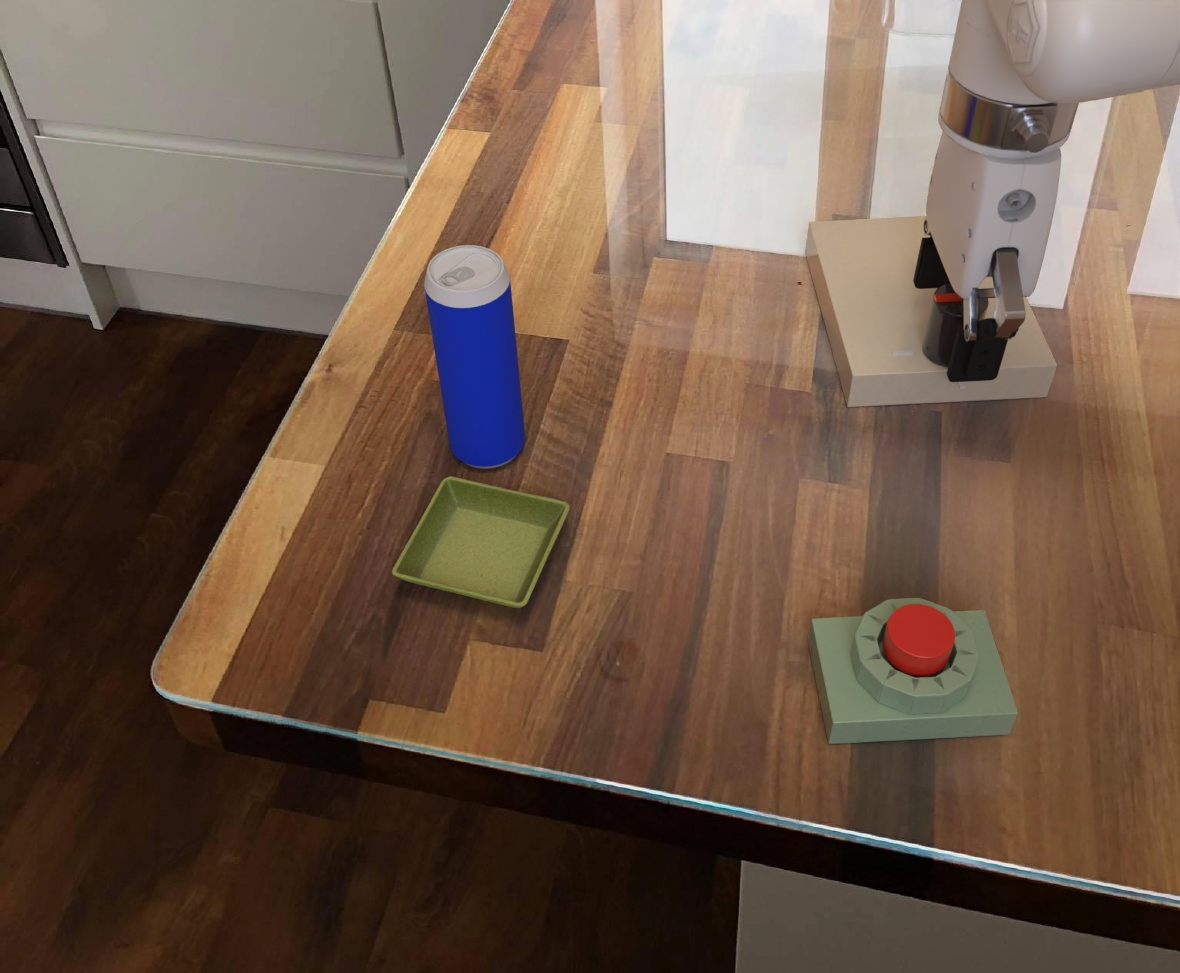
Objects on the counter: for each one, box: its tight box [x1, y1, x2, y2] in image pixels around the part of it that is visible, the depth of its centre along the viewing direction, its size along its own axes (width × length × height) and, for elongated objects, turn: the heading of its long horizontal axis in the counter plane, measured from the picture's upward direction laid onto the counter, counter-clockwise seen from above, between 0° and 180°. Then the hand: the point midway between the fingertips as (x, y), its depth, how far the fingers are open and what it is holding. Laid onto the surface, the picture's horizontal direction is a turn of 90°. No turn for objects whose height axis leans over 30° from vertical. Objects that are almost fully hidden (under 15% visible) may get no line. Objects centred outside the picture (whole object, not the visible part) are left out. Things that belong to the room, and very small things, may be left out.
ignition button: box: [883, 604, 955, 676], centre depth 66 cm, size 4×4×2 cm
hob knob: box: [922, 283, 989, 367], centre depth 83 cm, size 4×4×5 cm
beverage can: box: [423, 244, 526, 470], centre depth 78 cm, size 5×5×15 cm
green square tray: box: [391, 475, 571, 609], centre depth 76 cm, size 9×9×2 cm
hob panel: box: [804, 215, 1058, 408], centre depth 90 cm, size 14×20×3 cm
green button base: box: [807, 597, 1019, 745], centre depth 68 cm, size 10×7×4 cm
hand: (952, 330), depth 83 cm, fingers open, 9 cm apart
